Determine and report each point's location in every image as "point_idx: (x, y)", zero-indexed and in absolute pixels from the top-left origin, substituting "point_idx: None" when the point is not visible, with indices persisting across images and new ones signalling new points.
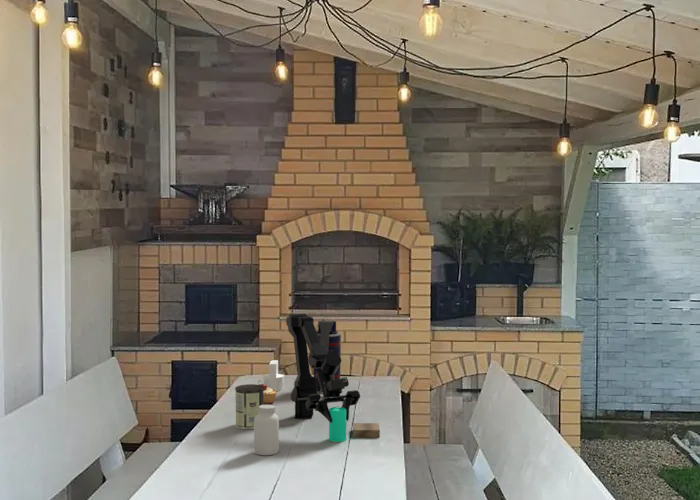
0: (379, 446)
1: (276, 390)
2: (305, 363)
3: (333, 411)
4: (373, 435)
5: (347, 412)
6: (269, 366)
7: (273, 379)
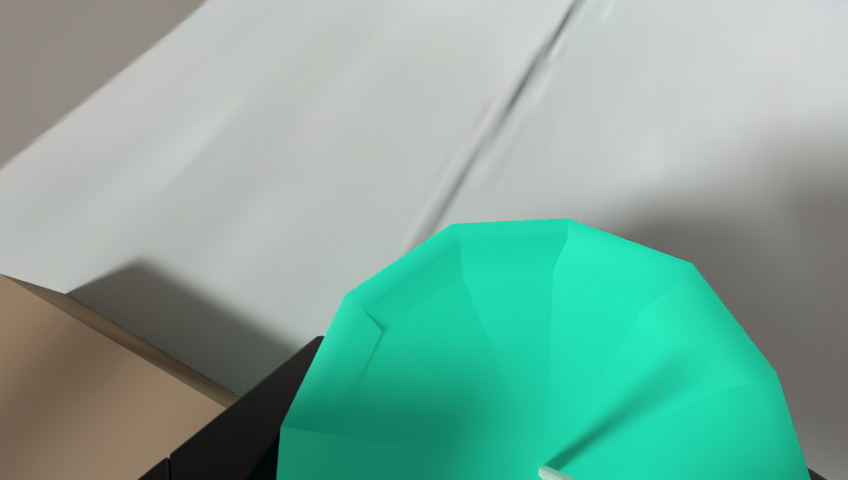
0: (252, 102)
1: None
2: None
3: (724, 332)
4: (96, 317)
5: (269, 409)
6: None
7: None
